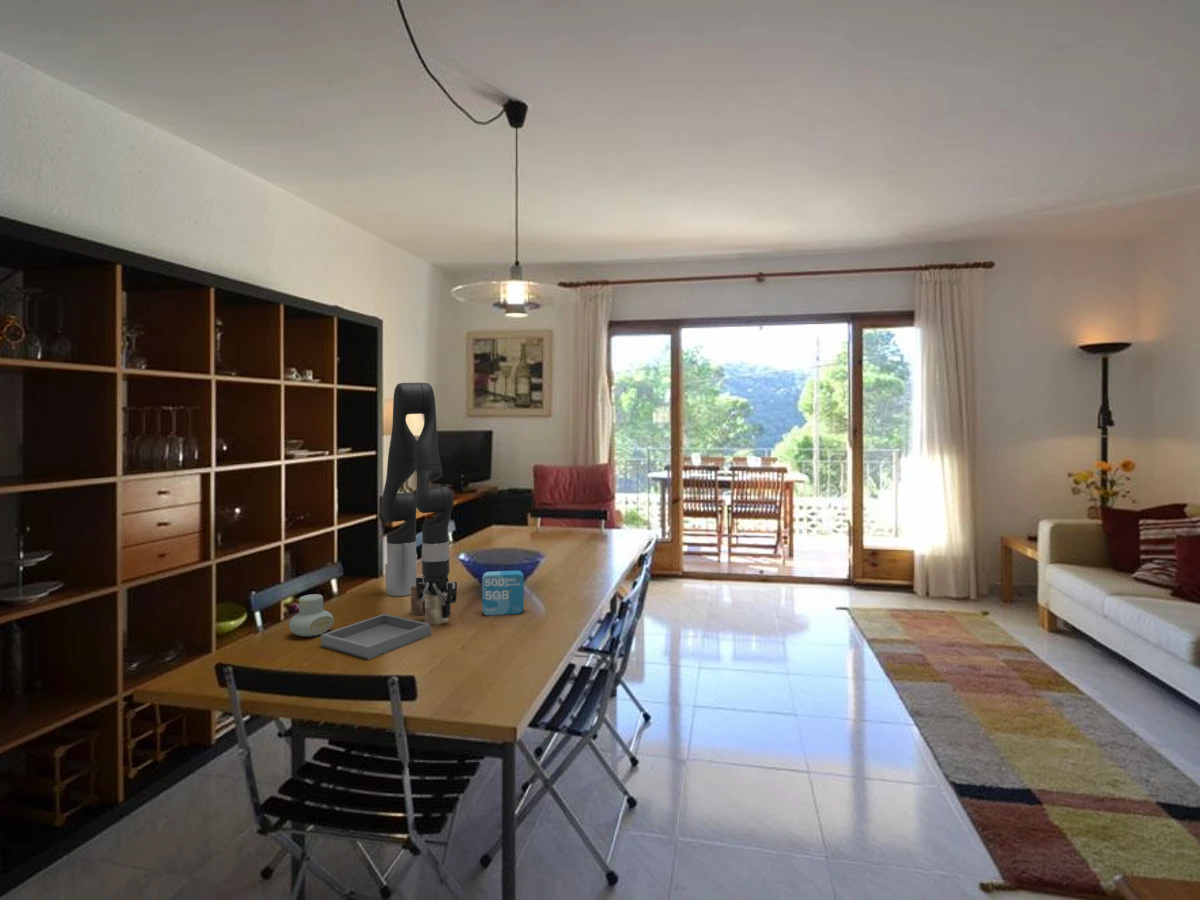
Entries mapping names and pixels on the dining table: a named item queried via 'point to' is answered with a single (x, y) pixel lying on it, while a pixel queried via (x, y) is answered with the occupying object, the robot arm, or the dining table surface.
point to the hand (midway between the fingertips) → (436, 615)
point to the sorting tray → (375, 636)
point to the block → (433, 609)
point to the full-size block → (416, 602)
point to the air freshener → (311, 617)
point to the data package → (502, 593)
